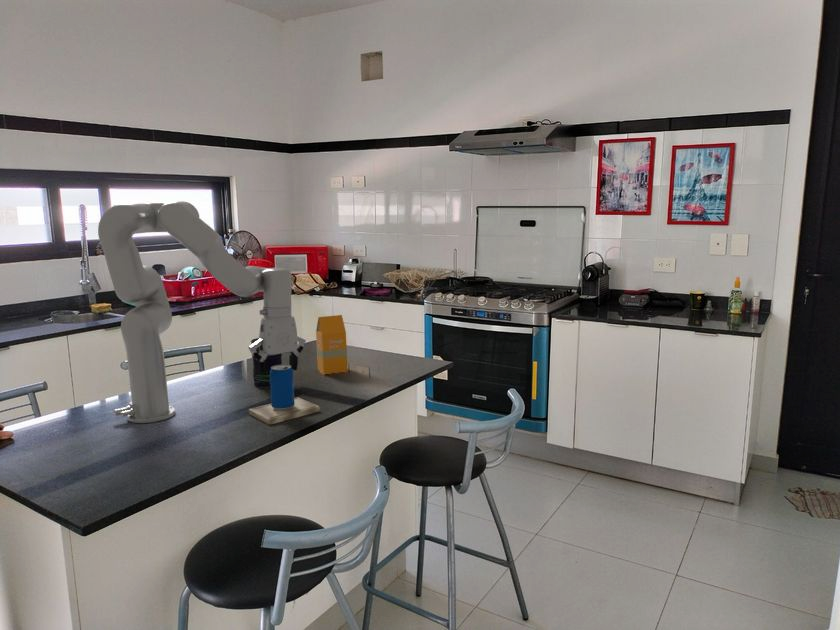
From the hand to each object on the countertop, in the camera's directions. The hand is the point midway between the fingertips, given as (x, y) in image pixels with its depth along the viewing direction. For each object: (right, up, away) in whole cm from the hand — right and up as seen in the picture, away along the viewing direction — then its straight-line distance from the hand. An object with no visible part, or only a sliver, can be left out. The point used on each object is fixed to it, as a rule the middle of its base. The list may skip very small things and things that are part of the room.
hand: (278, 371), depth 177 cm
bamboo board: (+1, -12, +2) cm, 12 cm away
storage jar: (-10, -7, +32) cm, 34 cm away
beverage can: (+1, -11, +2) cm, 11 cm away
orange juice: (+9, -4, +46) cm, 47 cm away
